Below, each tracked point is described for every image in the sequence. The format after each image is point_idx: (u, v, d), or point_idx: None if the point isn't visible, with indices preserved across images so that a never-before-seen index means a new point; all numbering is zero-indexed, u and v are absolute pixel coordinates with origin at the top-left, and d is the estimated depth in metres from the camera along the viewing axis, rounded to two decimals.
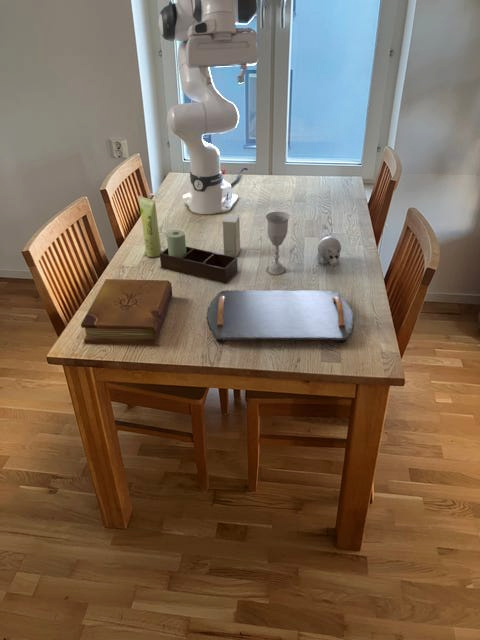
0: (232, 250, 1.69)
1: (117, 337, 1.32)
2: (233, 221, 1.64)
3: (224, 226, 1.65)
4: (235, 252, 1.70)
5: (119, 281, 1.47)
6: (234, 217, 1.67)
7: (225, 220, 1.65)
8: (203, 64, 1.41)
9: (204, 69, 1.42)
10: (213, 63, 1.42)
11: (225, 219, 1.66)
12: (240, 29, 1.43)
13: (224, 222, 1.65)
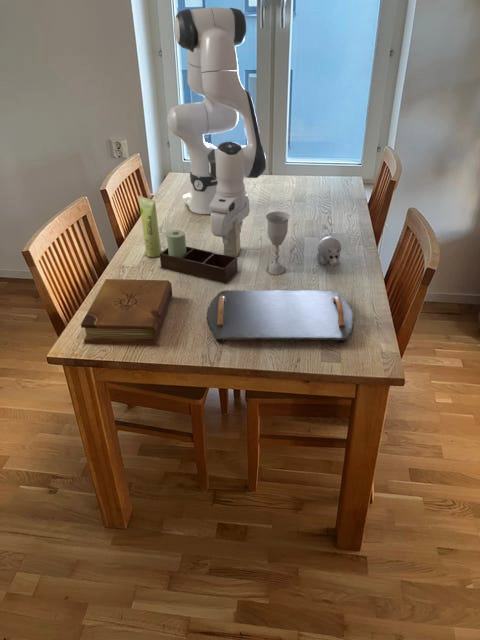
0: (232, 251, 1.69)
1: (117, 337, 1.32)
2: None
3: None
4: (235, 252, 1.70)
5: (119, 281, 1.47)
6: None
7: None
8: (227, 232, 1.63)
9: (227, 234, 1.64)
10: (232, 228, 1.65)
11: None
12: None
13: None
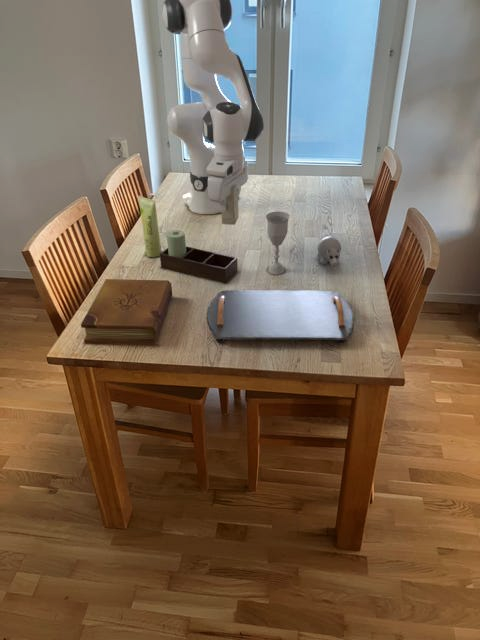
0: (230, 218, 1.63)
1: (117, 337, 1.32)
2: None
3: None
4: (233, 220, 1.63)
5: (119, 281, 1.47)
6: None
7: None
8: (225, 197, 1.56)
9: (225, 200, 1.58)
10: None
11: None
12: None
13: None
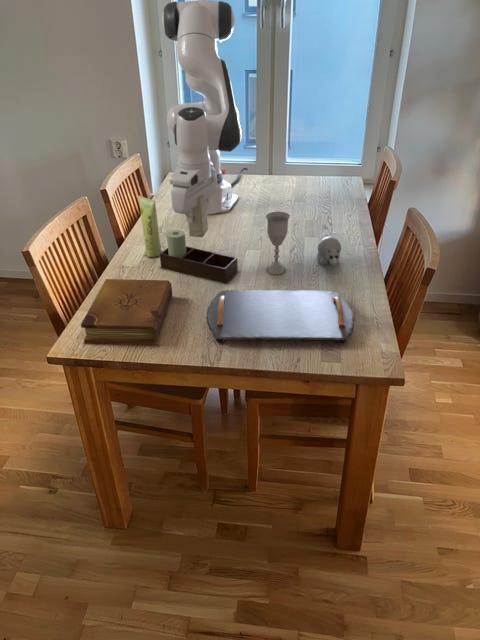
0: (197, 230, 1.53)
1: (117, 337, 1.32)
2: None
3: None
4: (201, 232, 1.54)
5: (119, 281, 1.47)
6: None
7: None
8: (191, 209, 1.47)
9: (191, 211, 1.48)
10: (196, 205, 1.49)
11: None
12: None
13: None
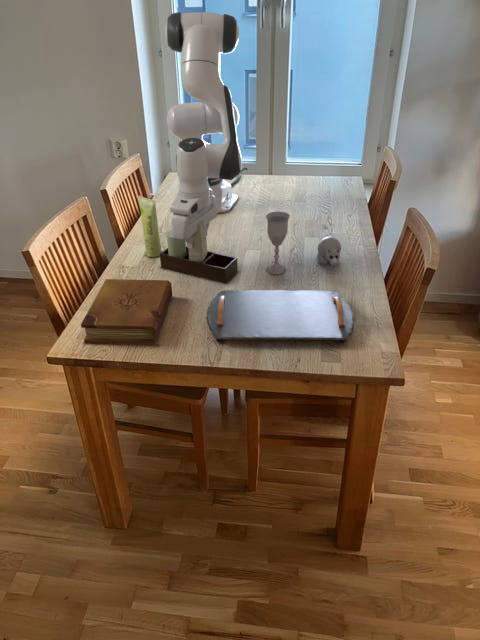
0: (197, 255, 1.57)
1: (117, 337, 1.32)
2: (198, 224, 1.52)
3: None
4: (201, 257, 1.58)
5: (119, 281, 1.47)
6: None
7: None
8: (191, 235, 1.51)
9: (191, 237, 1.52)
10: (196, 231, 1.53)
11: None
12: None
13: None
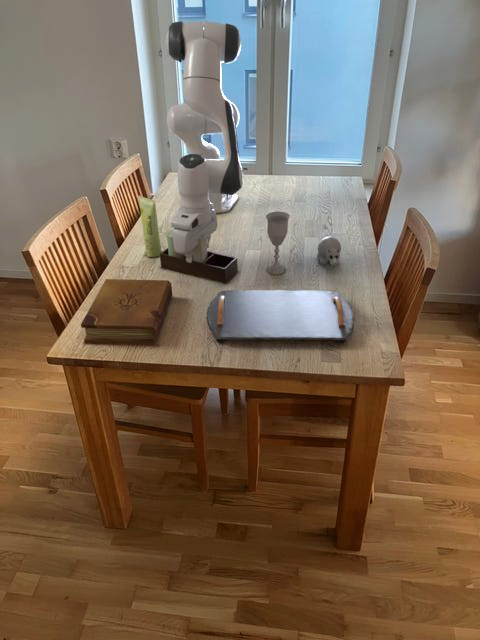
0: None
1: (117, 337, 1.32)
2: None
3: None
4: None
5: (119, 281, 1.47)
6: None
7: None
8: None
9: (190, 252, 1.54)
10: None
11: None
12: None
13: None
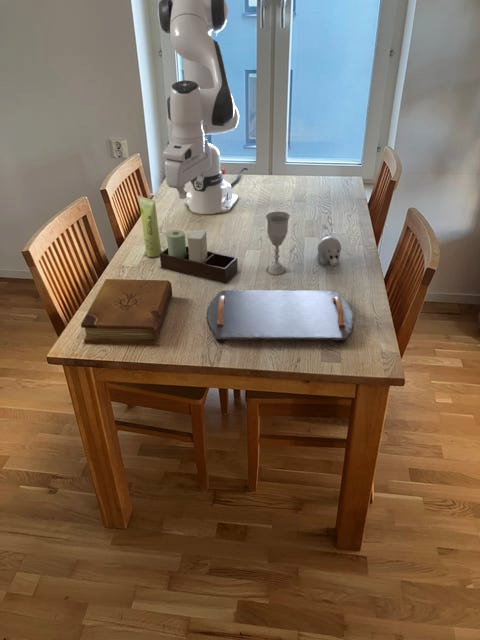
0: None
1: (117, 337, 1.32)
2: (198, 237, 1.55)
3: (189, 243, 1.56)
4: None
5: (119, 281, 1.47)
6: (200, 233, 1.57)
7: (190, 236, 1.56)
8: (185, 183, 1.47)
9: (184, 187, 1.48)
10: (190, 180, 1.49)
11: (190, 235, 1.56)
12: None
13: (189, 238, 1.55)
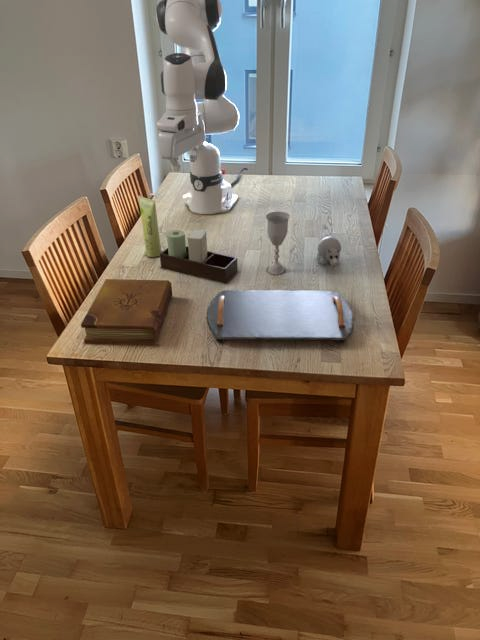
0: None
1: (117, 337, 1.32)
2: (198, 237, 1.55)
3: (189, 243, 1.56)
4: None
5: (119, 281, 1.47)
6: (200, 233, 1.57)
7: (190, 236, 1.56)
8: (178, 155, 1.49)
9: (177, 159, 1.50)
10: (184, 152, 1.51)
11: (190, 235, 1.56)
12: None
13: (189, 238, 1.55)
